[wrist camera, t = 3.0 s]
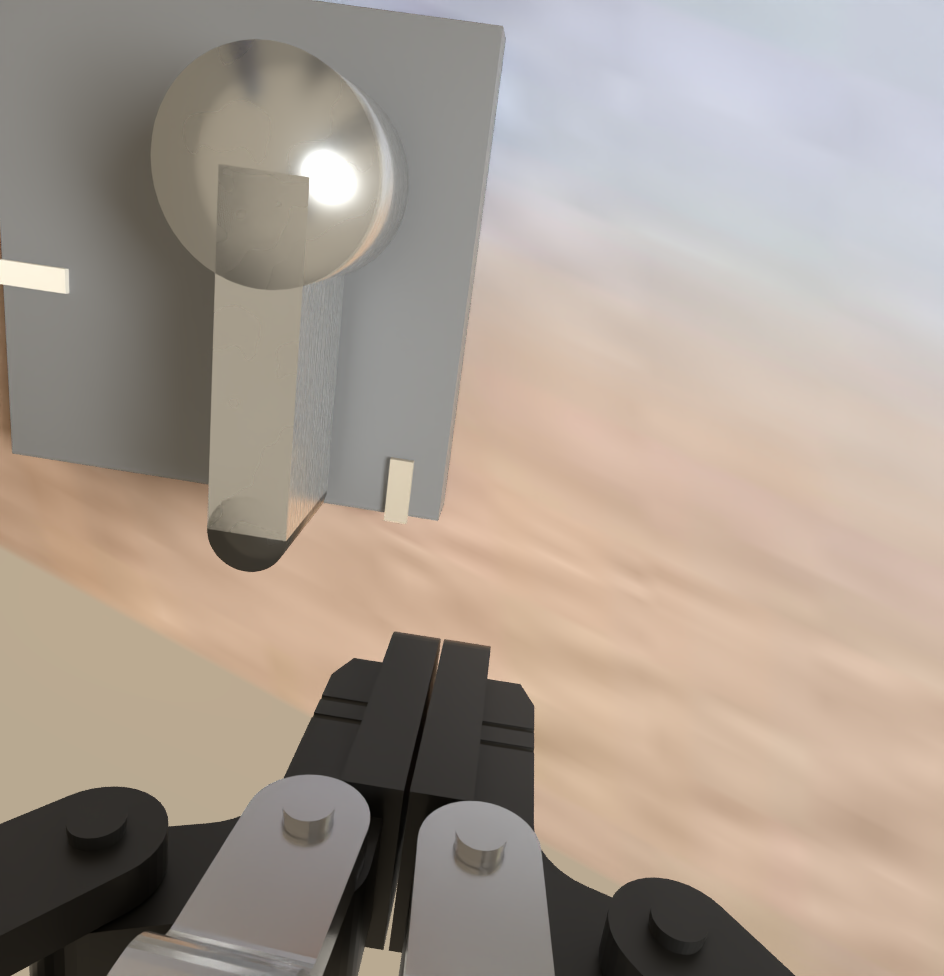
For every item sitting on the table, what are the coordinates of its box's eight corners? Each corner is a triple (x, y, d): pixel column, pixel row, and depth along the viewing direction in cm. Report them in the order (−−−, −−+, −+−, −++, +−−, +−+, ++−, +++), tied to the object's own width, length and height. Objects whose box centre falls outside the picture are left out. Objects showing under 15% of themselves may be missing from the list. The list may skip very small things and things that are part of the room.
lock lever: (224, 61, 20) (151, 24, 16) (419, 87, 20) (391, 56, 16) (210, 503, 24) (148, 555, 20) (373, 529, 24) (342, 587, 20)
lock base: (21, -27, 22) (-19, -47, 21) (505, 38, 22) (502, 24, 20) (40, 446, 27) (8, 461, 25) (442, 510, 26) (436, 529, 25)
